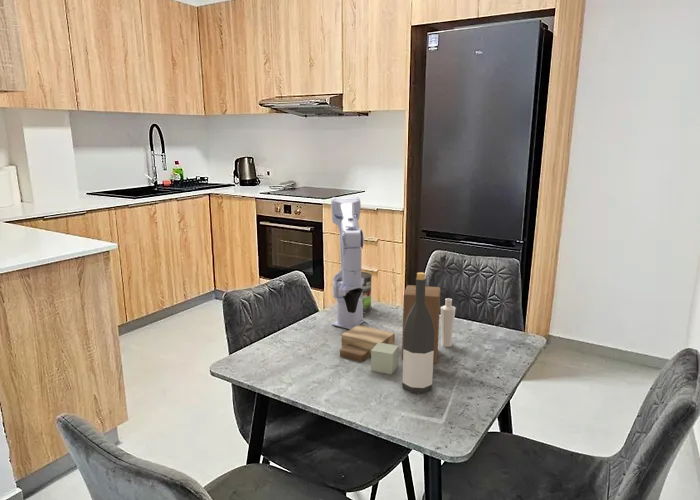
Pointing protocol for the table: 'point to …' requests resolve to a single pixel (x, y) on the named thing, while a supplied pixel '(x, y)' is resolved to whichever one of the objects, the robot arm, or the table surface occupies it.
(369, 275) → the coffee can
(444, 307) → the perfume bottle
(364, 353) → the walnut block
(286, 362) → the table surface
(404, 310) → the wooden block
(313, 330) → the table surface
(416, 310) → the wine bottle
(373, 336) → the oak step
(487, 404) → the table surface
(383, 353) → the sage cube
